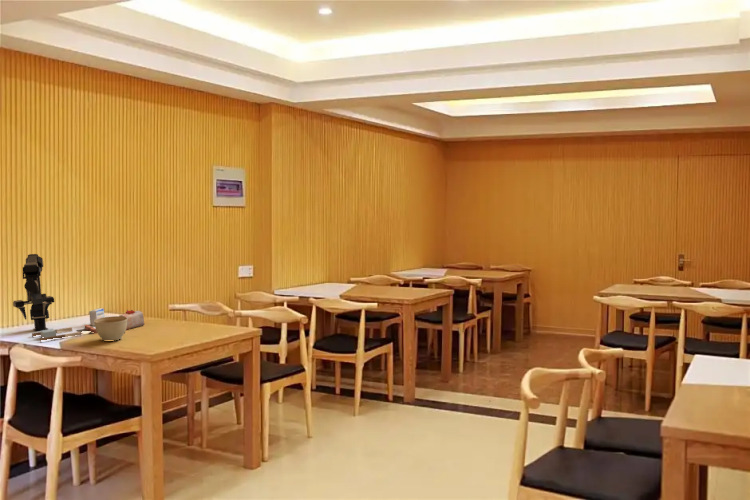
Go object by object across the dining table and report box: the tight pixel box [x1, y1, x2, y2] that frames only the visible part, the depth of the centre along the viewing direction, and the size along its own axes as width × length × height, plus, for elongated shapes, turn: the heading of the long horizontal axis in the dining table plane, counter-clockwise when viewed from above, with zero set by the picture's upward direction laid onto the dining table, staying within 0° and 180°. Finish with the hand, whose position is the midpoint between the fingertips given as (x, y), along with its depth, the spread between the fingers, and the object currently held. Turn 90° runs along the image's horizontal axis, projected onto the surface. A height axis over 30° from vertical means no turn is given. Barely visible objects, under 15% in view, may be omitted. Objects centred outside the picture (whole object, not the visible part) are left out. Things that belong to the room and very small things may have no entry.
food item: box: [119, 309, 145, 331], centre depth 390 cm, size 14×8×10 cm, turn 149°
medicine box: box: [88, 307, 105, 327], centre depth 400 cm, size 8×4×9 cm, turn 168°
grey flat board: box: [31, 324, 98, 341], centre depth 376 cm, size 17×28×2 cm, turn 130°
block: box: [40, 328, 57, 338], centre depth 371 cm, size 6×6×4 cm
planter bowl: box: [94, 315, 128, 341], centre depth 362 cm, size 16×16×11 cm
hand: (35, 317), depth 365 cm, fingers open, 9 cm apart
